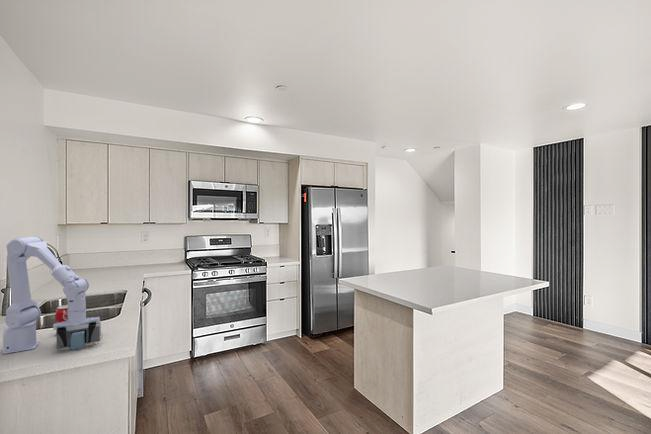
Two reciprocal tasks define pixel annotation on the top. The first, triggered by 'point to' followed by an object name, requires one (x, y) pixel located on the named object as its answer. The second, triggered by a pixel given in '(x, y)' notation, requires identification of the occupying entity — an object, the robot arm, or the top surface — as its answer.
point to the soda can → (61, 314)
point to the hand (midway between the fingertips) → (77, 343)
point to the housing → (70, 330)
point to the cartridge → (78, 339)
